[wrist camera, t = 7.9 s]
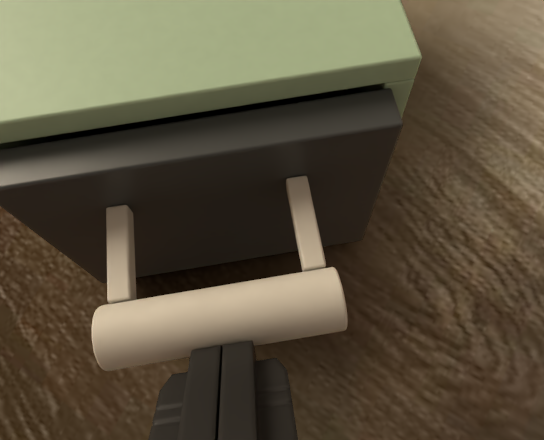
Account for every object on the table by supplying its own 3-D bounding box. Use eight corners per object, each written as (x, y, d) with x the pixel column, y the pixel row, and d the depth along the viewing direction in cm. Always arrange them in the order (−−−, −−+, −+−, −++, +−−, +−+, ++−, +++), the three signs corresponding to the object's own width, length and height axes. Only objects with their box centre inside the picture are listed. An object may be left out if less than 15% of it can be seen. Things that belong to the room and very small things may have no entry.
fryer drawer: (391, 350, 17) (462, 293, 10) (103, 400, 17) (-42, 378, 9) (304, 14, 24) (308, -164, 17) (99, 45, 23) (14, -122, 16)
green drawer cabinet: (367, 220, 20) (424, 56, 11) (95, 265, 20) (-65, 133, 11) (306, -5, 25) (313, -232, 17) (94, 28, 25) (-12, -186, 16)
